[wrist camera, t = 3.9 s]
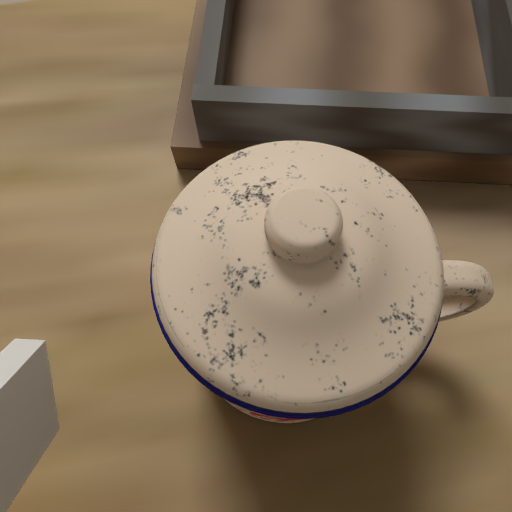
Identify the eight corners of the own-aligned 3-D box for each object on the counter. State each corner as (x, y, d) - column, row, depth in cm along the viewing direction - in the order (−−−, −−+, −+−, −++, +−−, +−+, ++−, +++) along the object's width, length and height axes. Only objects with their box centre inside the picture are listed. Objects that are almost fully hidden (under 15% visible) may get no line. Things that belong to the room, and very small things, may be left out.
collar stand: (483, -25, 32) (521, -105, 27) (529, 185, 24) (590, 125, 20) (210, -34, 32) (202, -113, 28) (177, 168, 25) (158, 106, 21)
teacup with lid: (187, 431, 20) (97, 415, 9) (194, 248, 23) (136, 80, 13) (454, 425, 20) (685, 401, 9) (419, 242, 23) (553, 69, 12)
